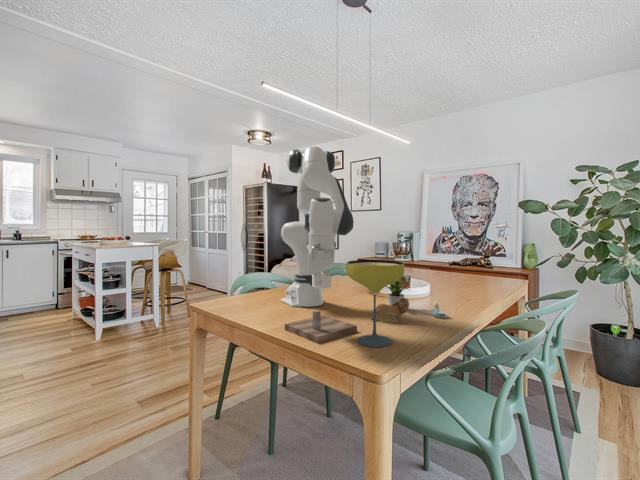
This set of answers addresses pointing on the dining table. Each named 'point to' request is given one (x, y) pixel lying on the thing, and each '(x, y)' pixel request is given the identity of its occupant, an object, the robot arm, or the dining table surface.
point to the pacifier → (437, 311)
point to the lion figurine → (393, 309)
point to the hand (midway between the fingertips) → (321, 283)
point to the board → (320, 328)
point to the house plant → (396, 291)
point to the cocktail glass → (375, 288)
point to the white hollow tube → (322, 281)
